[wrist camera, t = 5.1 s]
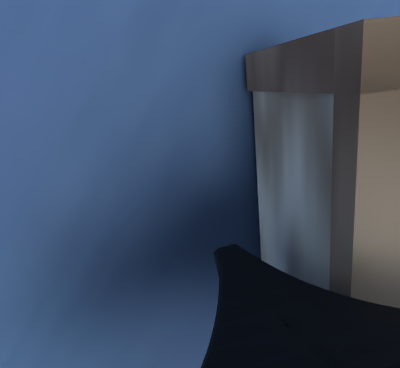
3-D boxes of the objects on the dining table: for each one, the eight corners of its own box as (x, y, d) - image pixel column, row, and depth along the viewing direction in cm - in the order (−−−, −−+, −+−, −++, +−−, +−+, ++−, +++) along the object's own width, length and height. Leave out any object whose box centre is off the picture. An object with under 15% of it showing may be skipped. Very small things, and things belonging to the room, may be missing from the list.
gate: (295, 424, 17) (378, 597, 11) (266, 433, 16) (335, 614, 11) (289, 50, 11) (447, 12, 6) (245, 54, 11) (364, 19, 5)
